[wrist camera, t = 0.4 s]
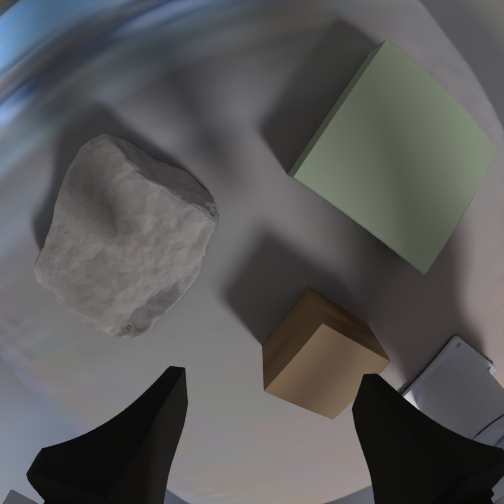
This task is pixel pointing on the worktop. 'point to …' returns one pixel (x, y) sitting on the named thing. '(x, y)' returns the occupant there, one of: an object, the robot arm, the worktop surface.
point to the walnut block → (320, 356)
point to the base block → (398, 156)
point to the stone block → (124, 237)
